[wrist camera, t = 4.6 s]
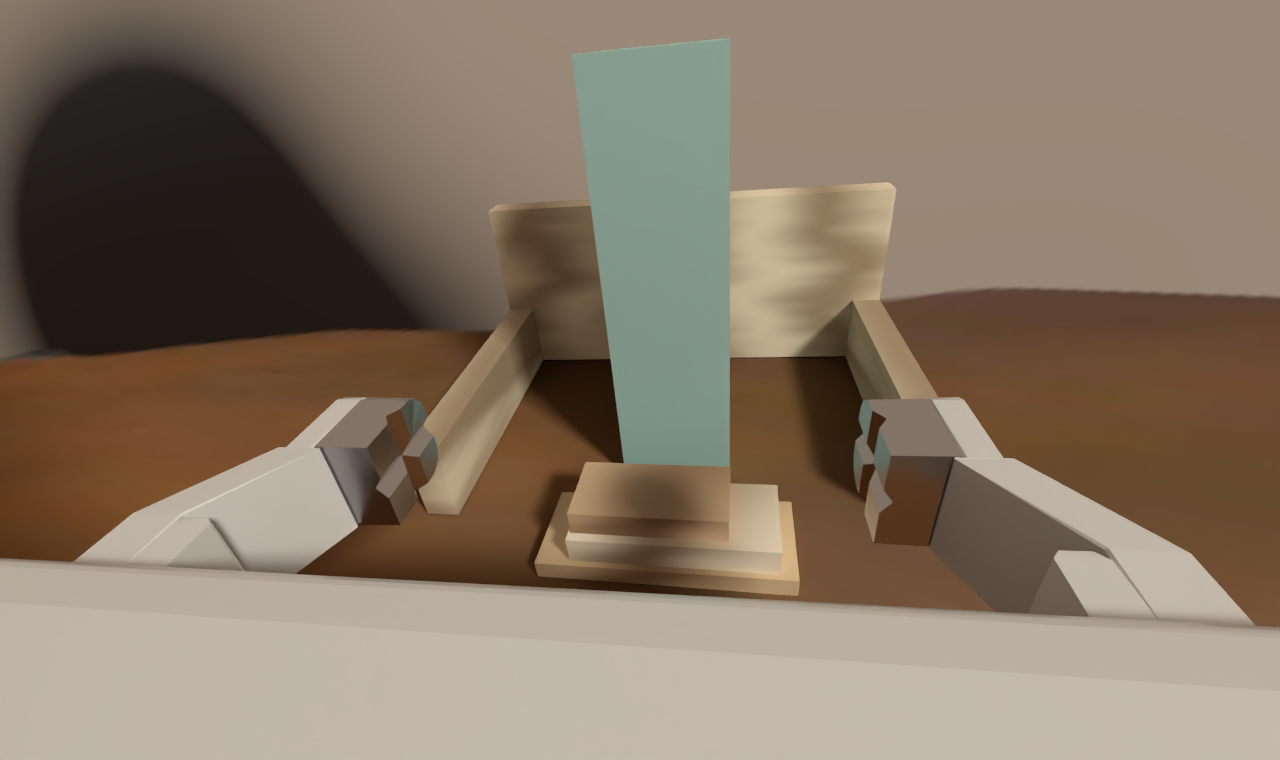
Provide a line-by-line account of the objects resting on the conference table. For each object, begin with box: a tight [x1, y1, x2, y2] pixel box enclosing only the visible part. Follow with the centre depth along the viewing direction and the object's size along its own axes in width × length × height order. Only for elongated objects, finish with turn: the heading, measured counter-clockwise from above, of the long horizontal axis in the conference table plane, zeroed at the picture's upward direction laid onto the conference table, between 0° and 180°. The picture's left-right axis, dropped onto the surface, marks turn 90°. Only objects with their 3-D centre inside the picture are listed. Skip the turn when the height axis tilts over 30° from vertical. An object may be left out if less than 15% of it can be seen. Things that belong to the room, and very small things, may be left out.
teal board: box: [572, 38, 730, 467], centre depth 20 cm, size 4×7×14 cm, turn 173°
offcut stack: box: [534, 462, 800, 596], centre depth 18 cm, size 8×3×3 cm, turn 82°
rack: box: [418, 183, 938, 515], centre depth 22 cm, size 18×13×8 cm
